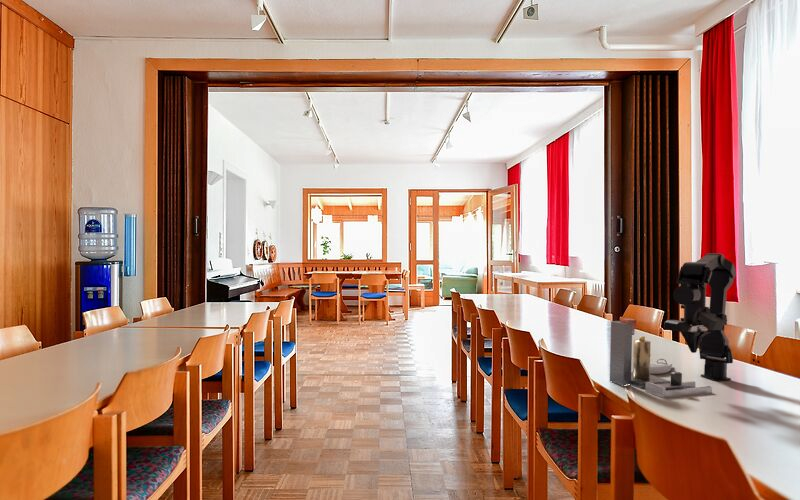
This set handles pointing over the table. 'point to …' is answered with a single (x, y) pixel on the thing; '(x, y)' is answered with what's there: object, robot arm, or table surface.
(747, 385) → the table surface
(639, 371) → the disc
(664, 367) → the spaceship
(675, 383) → the sliding block with knob
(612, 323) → the press bed
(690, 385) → the guide rail
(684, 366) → the table surface
